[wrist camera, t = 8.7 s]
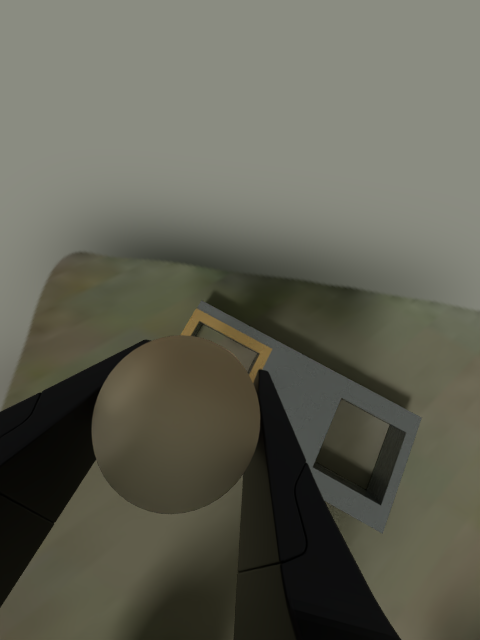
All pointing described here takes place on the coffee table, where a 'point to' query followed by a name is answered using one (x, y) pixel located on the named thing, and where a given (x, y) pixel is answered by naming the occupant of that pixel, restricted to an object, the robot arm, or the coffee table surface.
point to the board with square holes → (324, 415)
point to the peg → (175, 424)
